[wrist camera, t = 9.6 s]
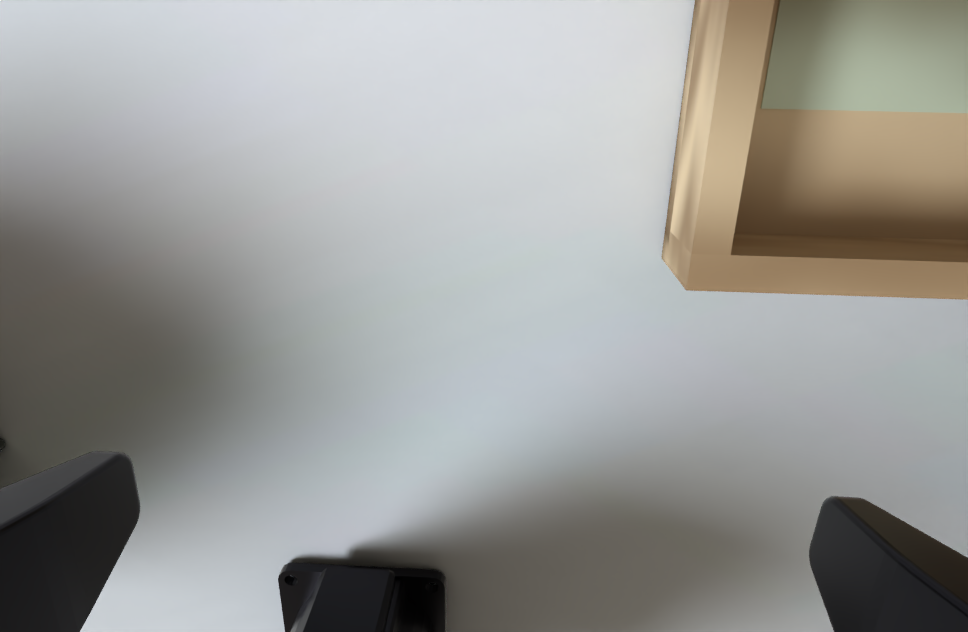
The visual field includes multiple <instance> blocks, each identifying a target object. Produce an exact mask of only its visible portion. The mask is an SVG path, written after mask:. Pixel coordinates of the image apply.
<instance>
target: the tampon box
mask: <svg viewBox="0 0 968 632" xmlns="http://www.w3.org/2000/svg"><path fill="white" fill-rule="evenodd" d="M4 447H5V442H4V441H3V440H2V439H0V452H1V450H2V449H3V448H4Z"/></svg>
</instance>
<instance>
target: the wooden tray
mask: <svg viewBox="0 0 968 632" xmlns="http://www.w3.org/2000/svg"><path fill="white" fill-rule="evenodd" d="M662 259H663V261H664V262H665V263H666V265H667V266H668V267H669V268H670V270H671V271H672V272H673V274H674V275H675V276H676V278H677V279H678V280H679V282H680V283H681V284H682V285H683V287H684V288H685V289H686V290H694V291H724V292H755V293H785V294H816V295H846V296H877V297H907V298H938V299H968V0H695V5H694V12H693V20H692V28H691V35H690V43H689V51H688V58H687V66H686V74H685V81H684V89H683V97H682V105H681V112H680V120H679V128H678V135H677V143H676V151H675V158H674V166H673V174H672V181H671V189H670V197H669V204H668V212H667V220H666V227H665V235H664V243H663V250H662Z"/></svg>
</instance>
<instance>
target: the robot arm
mask: <svg viewBox="0 0 968 632" xmlns="http://www.w3.org/2000/svg"><path fill="white" fill-rule="evenodd" d="M139 513H140V501H139V496H138V490H137V485H136V480H135V474H134V469H133V464H132V461H131V459H130V457H129V456H128V455H126V454H125V453H121V452H106V451H94V452H90V453H88V454H85V455H83V456H80V457H78V458H75V459H73V460H70V461H68V462H65V463H63V464H60V465H58V466H55V467H53V468H50V469H48V470H45V471H43V472H41V473H38V474H36V475H33V476H31V477H28V478H26V479H23V480H21V481H18V482H16V483H13V484H11V485H8V486H6V487H3V488H1V489H0V632H80V630H81V628H82V626H83V625H84V623H85V621H86V619H87V618H88V616H89V614H90V612H91V610H92V608H93V606H94V604H95V603H96V601H97V599H98V597H99V595H100V593H101V591H102V589H103V587H104V585H105V583H106V581H107V580H108V578H109V576H110V574H111V572H112V570H113V568H114V566H115V564H116V562H117V560H118V559H119V557H120V555H121V553H122V551H123V549H124V547H125V545H126V543H127V541H128V539H129V537H130V536H131V534H132V532H133V530H134V528H135V526H136V524H137V521H138V518H139ZM809 558H810V564H811V568H812V571H813V574H814V577H815V580H816V582H817V585H818V588H819V591H820V594H821V596H822V599H823V602H824V605H825V608H826V610H827V613H828V616H829V619H830V622H831V624H832V627H833V630H834V632H968V558H967V557H965V556H964V555H962V554H960V553H958V552H957V551H955V550H953V549H951V548H949V547H948V546H946V545H944V544H942V543H941V542H939V541H937V540H935V539H934V538H932V537H930V536H928V535H927V534H925V533H923V532H921V531H920V530H918V529H916V528H914V527H912V526H911V525H909V524H907V523H905V522H904V521H902V520H900V519H898V518H897V517H895V516H893V515H891V514H890V513H888V512H886V511H884V510H883V509H881V508H879V507H877V506H875V505H874V504H872V503H870V502H868V501H867V500H865V499H861V498H855V497H838V496H831V497H829V498H827V499H826V500H825V501H824V502H823V504H822V507H821V510H820V513H819V517H818V520H817V524H816V527H815V531H814V534H813V537H812V541H811V544H810V550H809ZM290 575H291V576H294V577H295V578H294V577H291V576H290ZM278 582H279V589H280V596H281V604H282V611H283V619H284V626H285V632H446V578H445V576H444V575H443V573H441V572H439V571H437V570H428V569H408V568H387V567H367V566H347V565H326V564H306V563H288V564H286V565H284V567H283V568H282V570H281V572H280V574H279V578H278ZM431 582H432V583H436V584H435V585H432V584H430V583H431Z"/></svg>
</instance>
